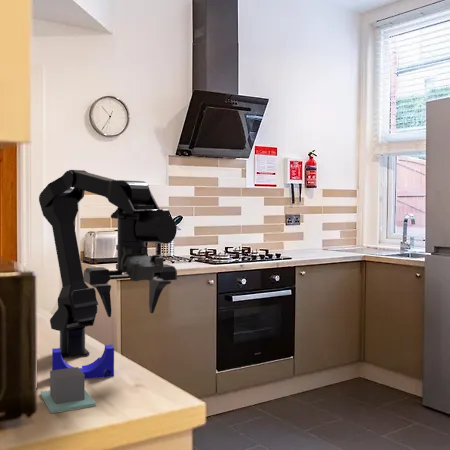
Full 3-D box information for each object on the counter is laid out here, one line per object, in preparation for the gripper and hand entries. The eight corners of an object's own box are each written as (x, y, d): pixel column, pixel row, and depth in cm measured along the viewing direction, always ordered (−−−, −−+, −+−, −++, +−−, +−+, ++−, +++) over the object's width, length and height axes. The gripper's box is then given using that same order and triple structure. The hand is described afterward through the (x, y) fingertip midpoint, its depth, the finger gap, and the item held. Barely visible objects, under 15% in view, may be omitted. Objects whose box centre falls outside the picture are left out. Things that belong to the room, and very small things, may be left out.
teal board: (40, 394, 102) (40, 391, 102) (81, 388, 106) (81, 385, 106) (51, 413, 93) (51, 410, 93) (95, 405, 97) (95, 403, 97)
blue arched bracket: (111, 370, 117) (111, 342, 117) (113, 377, 113) (114, 348, 113) (51, 375, 113) (52, 346, 113) (52, 382, 109) (52, 352, 109)
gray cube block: (50, 394, 100) (50, 370, 100) (77, 390, 103) (77, 367, 102) (55, 404, 96) (55, 378, 96) (84, 399, 98) (84, 374, 98)
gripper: (97, 245, 103) (97, 327, 104) (188, 242, 112) (187, 318, 113) (83, 240, 113) (82, 315, 114) (167, 238, 122) (166, 308, 123)
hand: (130, 314), depth 116 cm, fingers open, 9 cm apart
